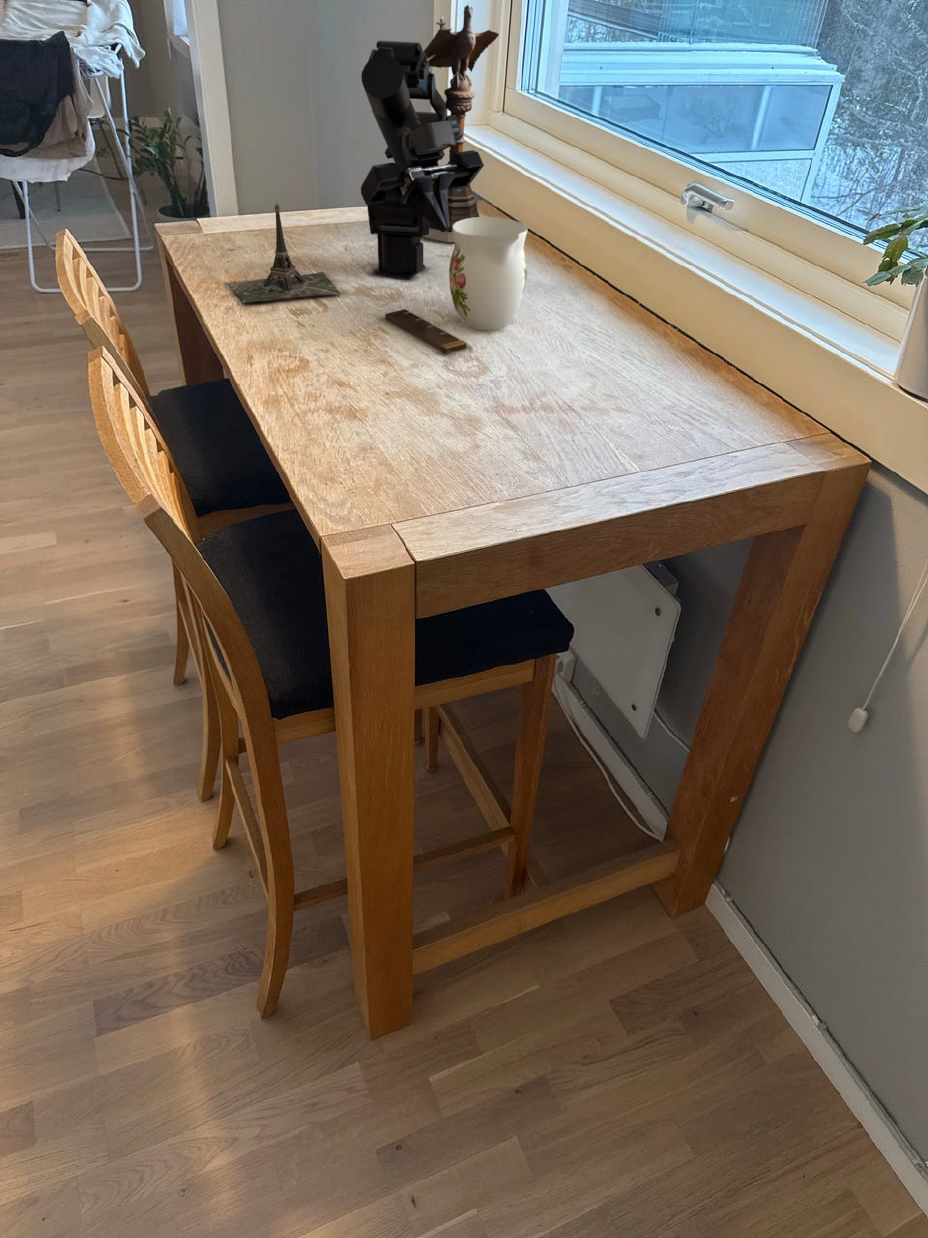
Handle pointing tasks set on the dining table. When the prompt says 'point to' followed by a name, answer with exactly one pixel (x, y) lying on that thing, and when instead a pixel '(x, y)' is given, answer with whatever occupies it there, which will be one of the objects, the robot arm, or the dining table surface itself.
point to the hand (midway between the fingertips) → (446, 230)
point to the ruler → (426, 331)
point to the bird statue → (458, 100)
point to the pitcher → (488, 271)
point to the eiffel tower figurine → (284, 278)
